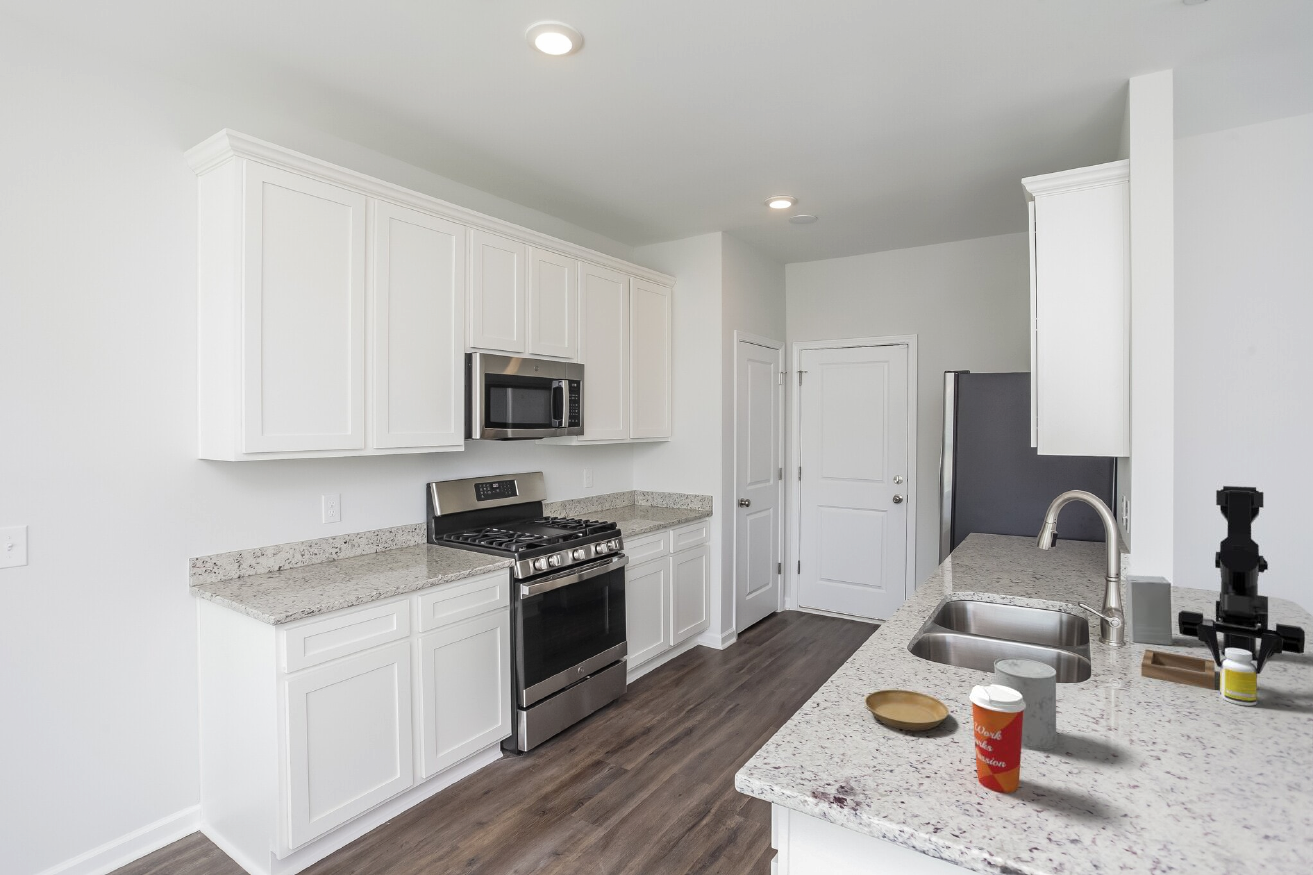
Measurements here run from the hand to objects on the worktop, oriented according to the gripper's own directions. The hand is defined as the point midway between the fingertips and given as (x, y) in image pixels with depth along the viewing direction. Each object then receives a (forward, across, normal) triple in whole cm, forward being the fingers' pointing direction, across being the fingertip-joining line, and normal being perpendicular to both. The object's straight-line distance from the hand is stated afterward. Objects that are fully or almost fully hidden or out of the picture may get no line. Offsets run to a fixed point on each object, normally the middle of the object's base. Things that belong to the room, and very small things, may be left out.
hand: (1238, 669), depth 127 cm
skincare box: (-19, -17, +28) cm, 38 cm away
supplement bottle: (+4, 0, +6) cm, 7 cm away
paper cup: (+47, -27, -38) cm, 66 cm away
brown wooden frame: (-3, -10, +12) cm, 16 cm away
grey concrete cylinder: (+34, -28, -24) cm, 50 cm away
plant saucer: (+38, -46, -28) cm, 66 cm away
